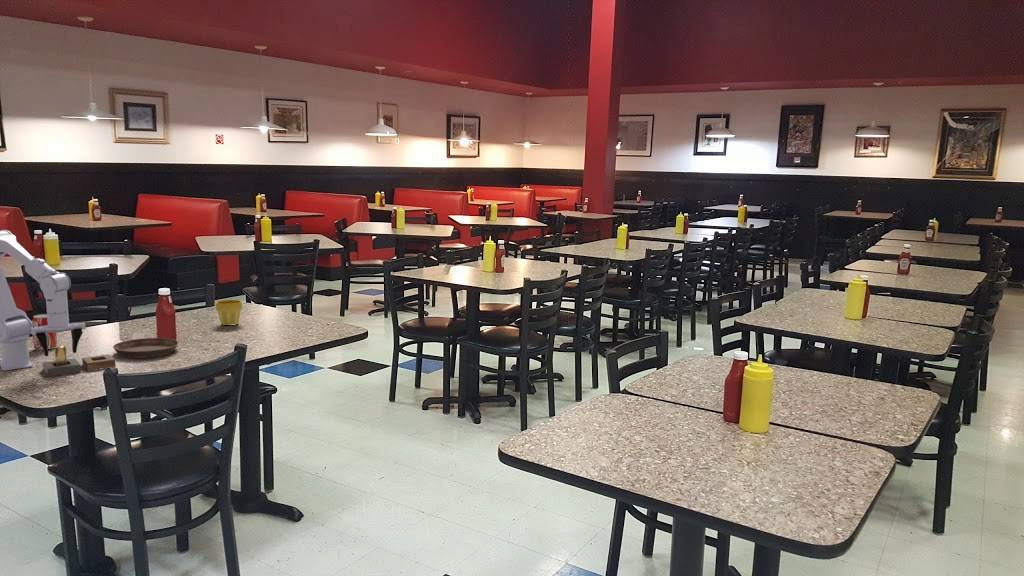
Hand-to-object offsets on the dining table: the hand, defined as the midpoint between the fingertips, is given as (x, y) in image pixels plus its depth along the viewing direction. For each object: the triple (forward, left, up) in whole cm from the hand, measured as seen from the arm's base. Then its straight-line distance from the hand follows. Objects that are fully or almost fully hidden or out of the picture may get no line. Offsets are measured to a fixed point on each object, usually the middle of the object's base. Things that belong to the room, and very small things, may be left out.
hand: (60, 353), depth 230 cm
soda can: (-34, +1, -6) cm, 34 cm away
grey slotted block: (0, 0, -6) cm, 6 cm away
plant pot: (-38, +67, -6) cm, 77 cm away
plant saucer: (-10, +28, -6) cm, 30 cm away
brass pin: (0, 0, -6) cm, 6 cm away
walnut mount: (0, +11, -6) cm, 12 cm away
